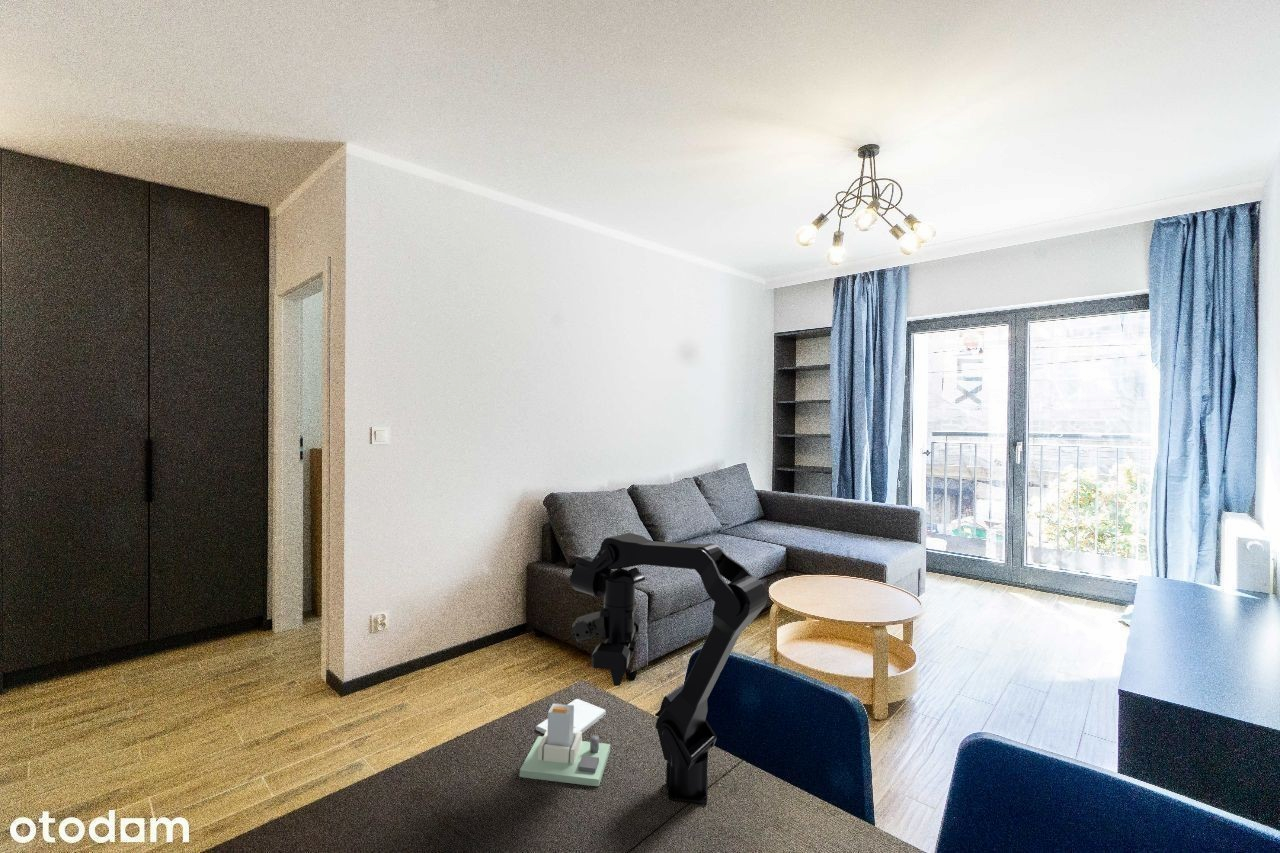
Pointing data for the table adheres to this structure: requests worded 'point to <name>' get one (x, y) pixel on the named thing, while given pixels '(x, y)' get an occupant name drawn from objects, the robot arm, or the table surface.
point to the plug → (560, 725)
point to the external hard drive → (579, 716)
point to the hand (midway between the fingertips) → (617, 684)
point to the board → (567, 761)
